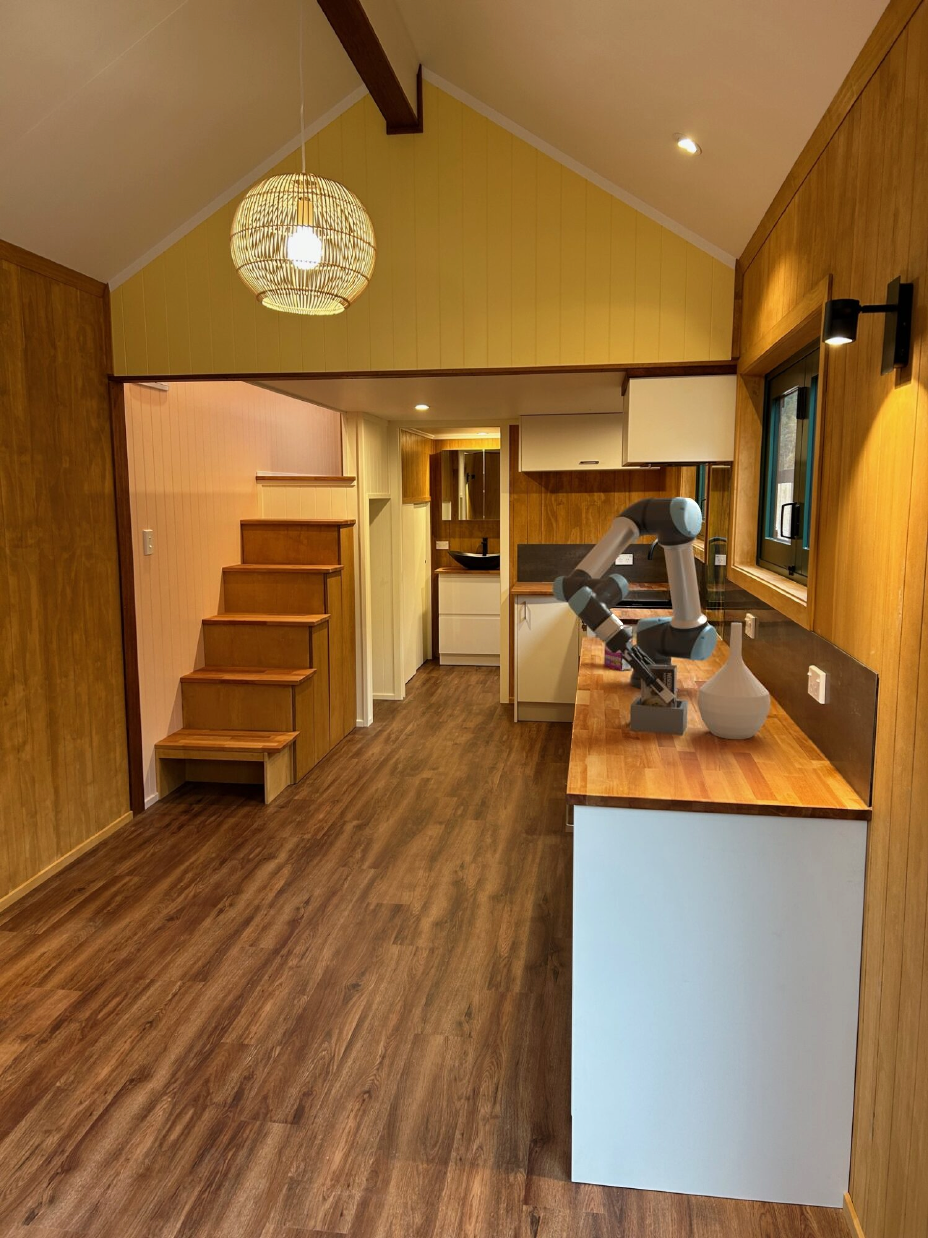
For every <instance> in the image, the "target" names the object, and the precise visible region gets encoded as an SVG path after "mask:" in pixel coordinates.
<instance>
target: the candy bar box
mask: <svg viewBox="0 0 928 1238" xmlns="http://www.w3.org/2000/svg"><path fill="white" fill-rule="evenodd" d="M622 626H623V627H626V628H627V629H628V630H629V631H630V632H631V633H632V634H633V635H634V633H633V631H634V629H633V628H634V626H632V625H631V626H630V625H626V624H623V625H622ZM629 642H631V643H632V644H633V637H632V638H631V639H630V640H629ZM603 656H604V661H603V664H604V665H603V667H605V666H606V668H609V667H610V668H609V669H612V668H614V669H613V670H617V671H620V670H621V672H624V670H626V671H631V670H632V671H633V668H632V667H631V666H630V665H629V664H628V663H627V662H626V661H625V660H624V659H623V658H622V657H623V653H622V652H621V651H620V650H618V651H617V652H616V653H612V652H611V651H610V650H609V649H608V648H607V646H606V642H604V655H603Z"/></svg>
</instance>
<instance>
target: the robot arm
mask: <svg viewBox="0 0 928 1238" xmlns="http://www.w3.org/2000/svg"><path fill="white" fill-rule="evenodd" d="M701 511H702V510H701V509H700V507H699V505H698V503H697V502H696V501H695V500H693V499H692V498H689V497H681V496H677V497H676V496H675V497H655V498H654V497H646V498H642V499H639V500H637V501H635V502H633V503H632V504H630V505H629V506H627V507H626V508H625V509H624V510H622V511H621V512H620V513H619V514H618V515H617V516H616V517H615V518H614V519H613V521H611V528H610V529H609V530H608V531H606V533H605V534H604V535H603V536H602V538H601V539H600V540H599V541H598V542H597V543H596V544H595V546H594V547H593V548H592V549H591V550H590V551H589V552H588V553H587V554H586V556H585V557H584V558H583V559H582V560H581V562H579V563H578V565H577V566H576V567H575V568H574V569H573V570H572V571H571V573H569V575H568V576H567V575H561V576H558V577H556V578H555V579H554V582H553V583H552V594H553V597H554V598H555V599H556V600H557V601H559V602H565V603H568V606H569V607H570V609H571V610H572V611H573V612H574V614H575V615H576V616H577V617H578V618H579V619H580V620H581V621H582V622H583V623H584V624H585V625H586V627H588V628H589V629H590V631H592V632H593V633H594V635H595V636H594V637H595V639H599V640H600V642H602V643H605V642H606V646H607V648H608V649H609V650H610V651H611V652H612V653H616V652H617V651H618V650H620V651H621V652H622V653H623V657H622V658H623V659H624V660H625V661H626V662H627V663H628V664H629V665H630V666H631V667H632V673H631V675H630V678H629V679H630V686H632V687H634V688H638V689H641V679H642V680H643V681H644V682H645V683H646V686H647V687H649V686H651V687H652V688H653V689H654V690H655V691H656V692H657V693H658V694H659V695H660V696H661V697H662V698H663V699H664V700H665V701H666V703H668V702H669V701H671V700H672V699H673V698H674V697H675V696H674V695H673V694H672V692H671V691H670V690H669V689H668V688H667V687H666V686H665V685H664V684H663V683H662V682H661V681H660V680H659V679H657V678H656V677H655V676H654V675H653V673H652V672H651V671H650V670H649V668H648V667H647V666H646V665H645V664H656V665H673V663H672V658H675V659H681V660H690V661H693V662H694V661H696V662H697V661H699V662H703V661H707V660H708V659H709V658H710V657H711V656H712V654H713V653H714V651H715V648H716V644H717V637H718V635H717V629H716V628H715V627H714V626H713V625H711V624H709V625H708V618H707V616H706V615H704V614H703V613H702V609H701V601H700V594H699V587H698V586H699V585H698V580H697V579H698V578H697V571H696V564H695V557H694V556H695V554H694V547H693V544H694V542H695V541H696V540H697V535H698V534H699V533H700V531H701V529H702V523H703V516H702V512H701ZM644 536H656V537H657V544H658V545H659V546H661V547H662V548H663V550H664V558H665V564H666V566H665V567H666V571H667V572H666V573H667V578H668V586H669V591H670V598H671V599H670V600H671V604H672V613H673V617H672V616H657V617H648V618H647V617H646V618H640V619H639V620H638V622H637V623H636V631H635V633H636V644H633V642H632V643H631V642H629V640H630V639H631V638H632V639H633V637H634V633H633V634H632V633H631V632H630V631H629V630H628V629H627V628H626V627H623V626H622V625H624V624H623V622H622V621H621V620H620V619H619V618H618V617H617V616H616V615H615V614H614V613H613V612H612V610H611V609H612V608H614V607H615V606H616V605H617V604H619V603H620V602H622V601H623V599H624V598H625V597H626V596H627V595H628V593H629V591H630V586H629V582H628V580H627V579H626V578H625V577H624V576H622V575H621V574H619V573H612V574H610V575H608V576H606V577H605V578H602V576H604V574H605V573H606V572H607V571H608V570H609V568H610V567H611V566H612V565H613V564H614V563H615V562H616V560H618V558H619V557H620V556H621V554H622V553H623V552H624V551H625V550H626V549H627V548H628V546H630V544H633V543H635V542H637V541H638V540H639V538H641V537H644ZM656 679H657V680H656ZM678 691H679V690H678V689H677V692H678Z"/></svg>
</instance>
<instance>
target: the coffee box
mask: <svg viewBox="0 0 928 1238" xmlns="http://www.w3.org/2000/svg"><path fill="white" fill-rule="evenodd" d="M645 665H646V666H647V667H648V668H649V670H650V671H651V672H652V673H653V675H654V676H655V677H656V678H657V679H659V680H660V681H661V682H662V683H663V684H664V685H665V686H666V687H667V688H668V689H669V690H670V691H671V692H672V694H673V695H674V696H675V697H674V698H673V699H672V700H671V701H669V702H668V703H666V701H665V700H664V699H663V698H662V697H661V696H660V695H659V694H658V693H657V692H656V691H655V690H654V689H653V688H652V687H651V686H649V687H647V686H646V683H645V682H644V681H643V680H642V679H641V688H640V690H641V691H640V697H641V705H647V706H661V707H674V708H676V700H678V699H677V694H678V693H677V692H678V691H677V690H678V688H677V686H678V684H677V683H678V682H677V678H678V677H677V675H678V666H677V665H676V664H672V665H656V664H645ZM657 679H656V680H657Z"/></svg>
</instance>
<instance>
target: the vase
mask: <svg viewBox="0 0 928 1238" xmlns="http://www.w3.org/2000/svg"><path fill="white" fill-rule="evenodd" d="M742 630H743V623H742V622H731V624H730V637H729V639H730V640H729V655H728V658H727V660H726V662H725V663H724V664H723V665H722V667H721V668H719V670H718V671H716V673H714V674H713V676H712V677H710V678H709V679H708V680H707V681H706V682H704V684H703V685H701V687H699V691H698V695H697V707H698V710H699V712H700V713H699V714H700V717H701V720H702V721H703V723H704V725H705V726H706V728H707V729H708V730H709V732H710V733H711V734H712V735H714V736H715V737H718V738H722V739H727V740H746V739H751V738H752V737H754V736H755V735H756V734H757V733H758V732H759V731H760V730H761V728H762V727H763V726H764V724H765V722H766V720H767V717H768V715H769V713H770V709H771V697H770V696H771V695H770V692H769V691H768V690H767V689H766V687H765V686H764V685H763V684H762V683H761V682H760V681H759V680H758V679H757V677H755V675H754V674H753V672H752V671H751V670H750V669H749V668H748V667H747V666H746V663H745V662H744V661H743V657H742V650H743V649H742V647H743V646H742V644H743V642H742V641H743V638H742V637H743V633H742V632H743V631H742Z"/></svg>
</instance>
